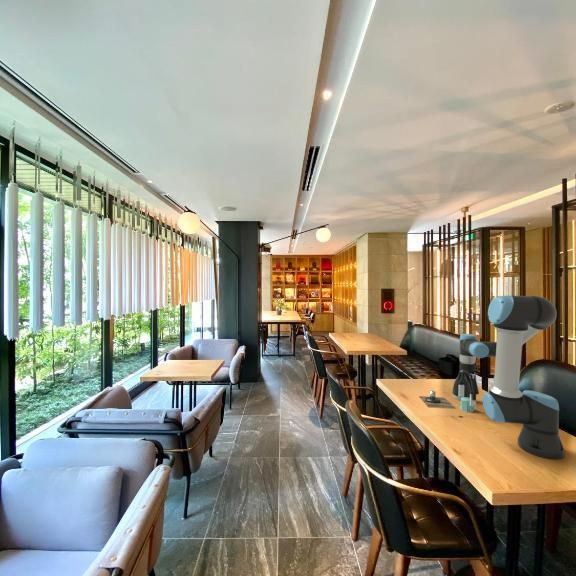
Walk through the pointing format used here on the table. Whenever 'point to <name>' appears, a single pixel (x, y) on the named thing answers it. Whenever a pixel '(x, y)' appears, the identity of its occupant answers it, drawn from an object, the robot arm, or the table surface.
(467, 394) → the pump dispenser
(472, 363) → the robot arm
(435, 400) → the post
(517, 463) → the table surface
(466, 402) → the cap
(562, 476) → the table surface
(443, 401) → the board
